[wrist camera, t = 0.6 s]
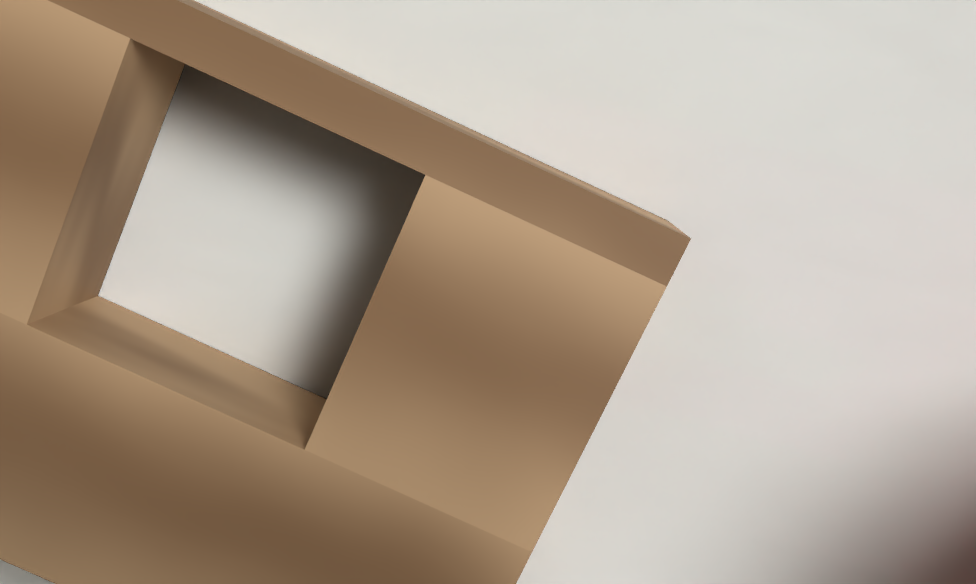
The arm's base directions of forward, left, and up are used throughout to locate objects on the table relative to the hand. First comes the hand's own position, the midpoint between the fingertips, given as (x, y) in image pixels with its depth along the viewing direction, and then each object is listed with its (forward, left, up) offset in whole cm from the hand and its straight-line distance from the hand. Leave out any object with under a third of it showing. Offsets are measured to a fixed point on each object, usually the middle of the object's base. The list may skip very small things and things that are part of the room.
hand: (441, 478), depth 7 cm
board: (-4, +4, -13) cm, 14 cm away
